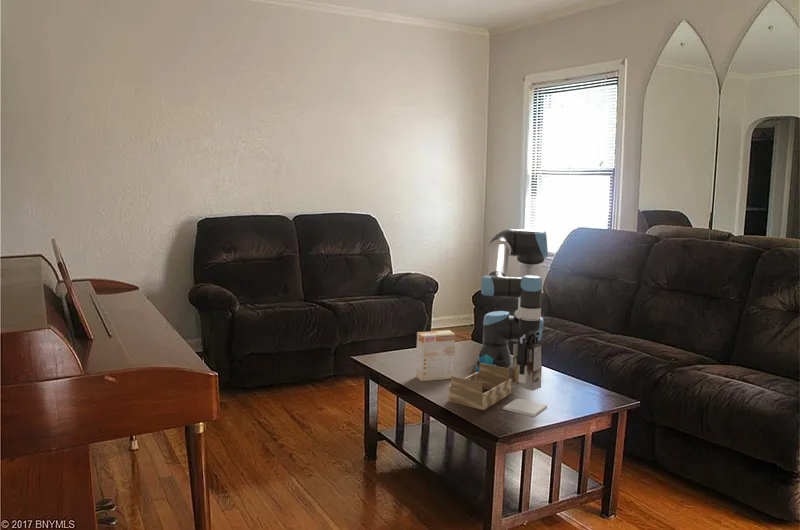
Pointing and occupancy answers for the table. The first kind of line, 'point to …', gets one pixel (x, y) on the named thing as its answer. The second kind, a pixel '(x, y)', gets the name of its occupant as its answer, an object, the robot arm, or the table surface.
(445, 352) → the coffeecake box
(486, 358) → the gemstone
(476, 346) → the table surface
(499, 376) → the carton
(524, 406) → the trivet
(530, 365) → the coffee box
